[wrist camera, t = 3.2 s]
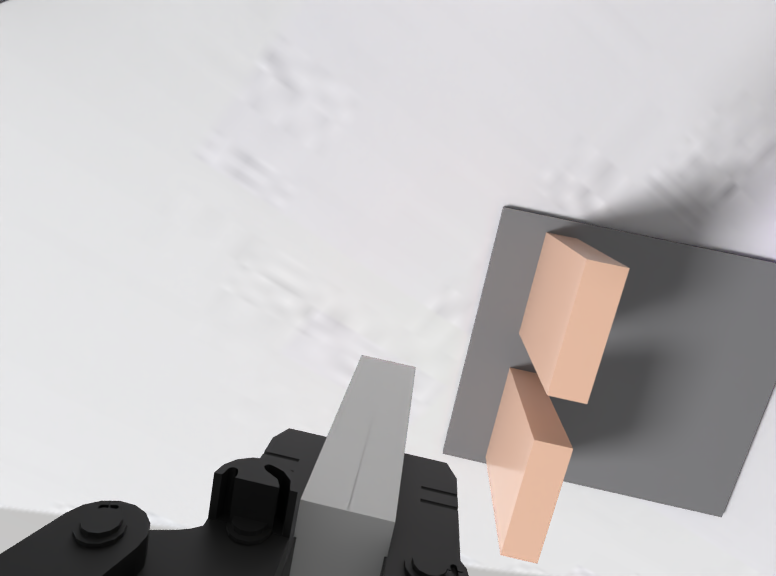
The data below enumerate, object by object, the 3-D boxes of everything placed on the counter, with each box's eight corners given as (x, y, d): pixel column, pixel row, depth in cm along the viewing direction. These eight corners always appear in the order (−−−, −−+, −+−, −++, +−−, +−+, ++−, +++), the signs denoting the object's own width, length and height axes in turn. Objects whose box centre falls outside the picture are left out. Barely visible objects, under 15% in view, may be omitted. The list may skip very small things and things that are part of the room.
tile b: (509, 367, 37) (533, 439, 28) (540, 374, 37) (576, 449, 27) (485, 456, 39) (500, 554, 29) (515, 463, 39) (540, 564, 29)
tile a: (546, 232, 35) (586, 259, 25) (579, 238, 35) (633, 269, 25) (518, 333, 37) (547, 395, 27) (550, 340, 37) (590, 404, 27)
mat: (503, 206, 35) (504, 207, 35) (815, 271, 34) (819, 272, 34) (442, 450, 40) (442, 453, 39) (718, 513, 39) (721, 517, 38)
